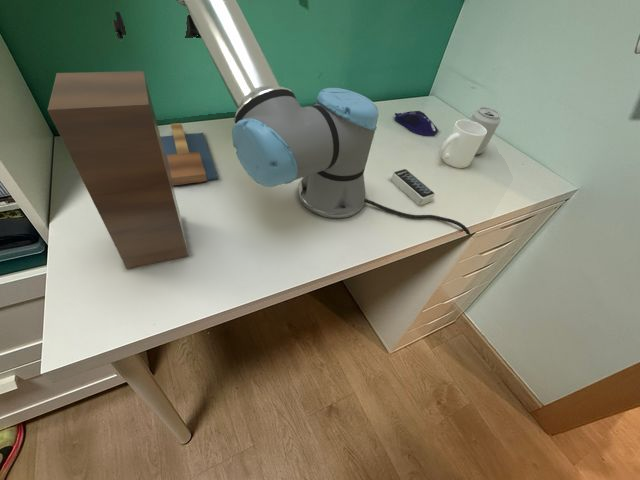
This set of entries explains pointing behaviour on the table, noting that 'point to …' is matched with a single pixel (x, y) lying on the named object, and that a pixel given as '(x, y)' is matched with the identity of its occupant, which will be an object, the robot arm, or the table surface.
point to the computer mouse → (417, 122)
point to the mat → (194, 145)
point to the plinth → (121, 161)
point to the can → (486, 124)
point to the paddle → (184, 160)
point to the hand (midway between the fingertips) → (156, 20)
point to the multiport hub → (412, 187)
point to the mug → (462, 143)
